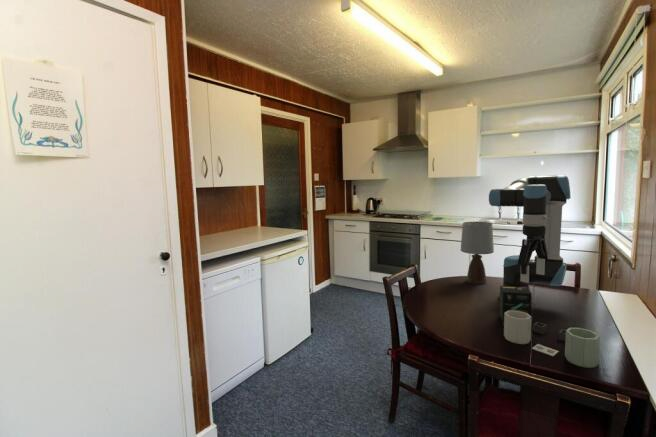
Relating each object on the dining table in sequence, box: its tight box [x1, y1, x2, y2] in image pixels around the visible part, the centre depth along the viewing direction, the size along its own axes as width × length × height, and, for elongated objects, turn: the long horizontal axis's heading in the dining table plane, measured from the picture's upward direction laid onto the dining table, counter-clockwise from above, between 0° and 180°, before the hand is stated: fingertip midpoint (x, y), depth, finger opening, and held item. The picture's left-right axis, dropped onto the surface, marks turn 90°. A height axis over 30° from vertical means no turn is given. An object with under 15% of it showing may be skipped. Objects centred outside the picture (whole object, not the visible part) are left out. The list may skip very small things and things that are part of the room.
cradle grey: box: [532, 321, 548, 335], centre depth 135 cm, size 4×4×3 cm
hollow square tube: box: [557, 328, 567, 342], centre depth 128 cm, size 4×4×3 cm
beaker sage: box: [564, 327, 601, 369], centre depth 112 cm, size 9×9×10 cm
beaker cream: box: [503, 310, 532, 345], centre depth 129 cm, size 9×9×10 cm
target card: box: [531, 343, 560, 357], centre depth 120 cm, size 7×5×1 cm
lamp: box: [460, 221, 495, 285], centre depth 201 cm, size 19×19×37 cm
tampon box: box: [499, 285, 532, 325], centre depth 145 cm, size 11×9×15 cm
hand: (532, 278), depth 128 cm, fingers open, 13 cm apart
